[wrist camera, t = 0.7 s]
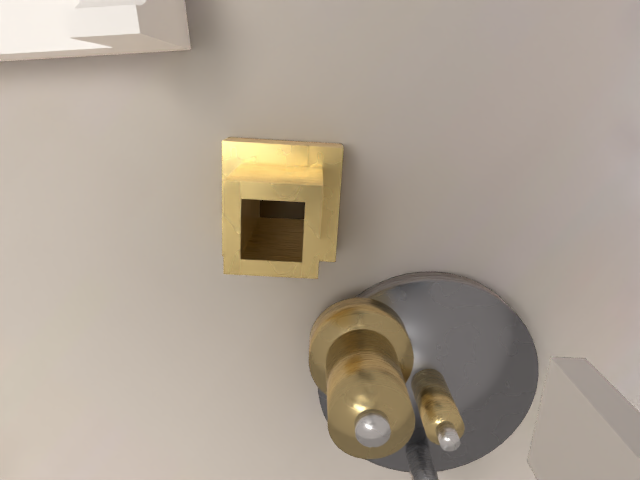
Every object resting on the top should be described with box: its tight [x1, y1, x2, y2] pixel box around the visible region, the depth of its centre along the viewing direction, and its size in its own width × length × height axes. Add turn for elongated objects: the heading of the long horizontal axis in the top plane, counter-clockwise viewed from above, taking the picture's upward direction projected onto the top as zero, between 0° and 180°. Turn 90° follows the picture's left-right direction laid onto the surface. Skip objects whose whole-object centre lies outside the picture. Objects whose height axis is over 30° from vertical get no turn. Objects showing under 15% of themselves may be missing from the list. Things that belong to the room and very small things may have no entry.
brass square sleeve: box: [222, 137, 344, 279], centre depth 23 cm, size 6×6×7 cm
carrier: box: [309, 272, 538, 480], centre depth 25 cm, size 13×14×9 cm
